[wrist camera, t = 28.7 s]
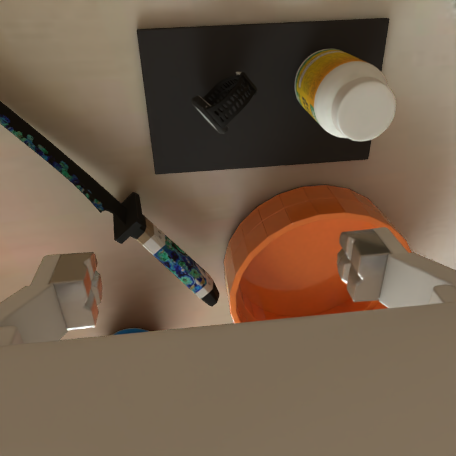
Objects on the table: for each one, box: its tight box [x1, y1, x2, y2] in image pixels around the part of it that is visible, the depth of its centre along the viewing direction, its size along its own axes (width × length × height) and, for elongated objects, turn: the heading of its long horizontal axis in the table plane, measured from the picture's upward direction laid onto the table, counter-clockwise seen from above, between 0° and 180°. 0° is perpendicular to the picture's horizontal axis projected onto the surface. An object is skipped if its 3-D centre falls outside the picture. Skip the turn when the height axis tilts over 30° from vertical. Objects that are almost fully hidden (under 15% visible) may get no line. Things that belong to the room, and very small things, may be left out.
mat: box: [137, 18, 389, 174], centre depth 36 cm, size 20×12×1 cm, turn 92°
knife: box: [0, 101, 219, 306], centre depth 37 cm, size 31×3×4 cm, turn 39°
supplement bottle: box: [295, 49, 396, 141], centre depth 32 cm, size 5×5×10 cm
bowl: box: [224, 185, 411, 323], centre depth 44 cm, size 18×18×6 cm
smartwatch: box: [192, 72, 257, 134], centre depth 33 cm, size 4×5×5 cm
